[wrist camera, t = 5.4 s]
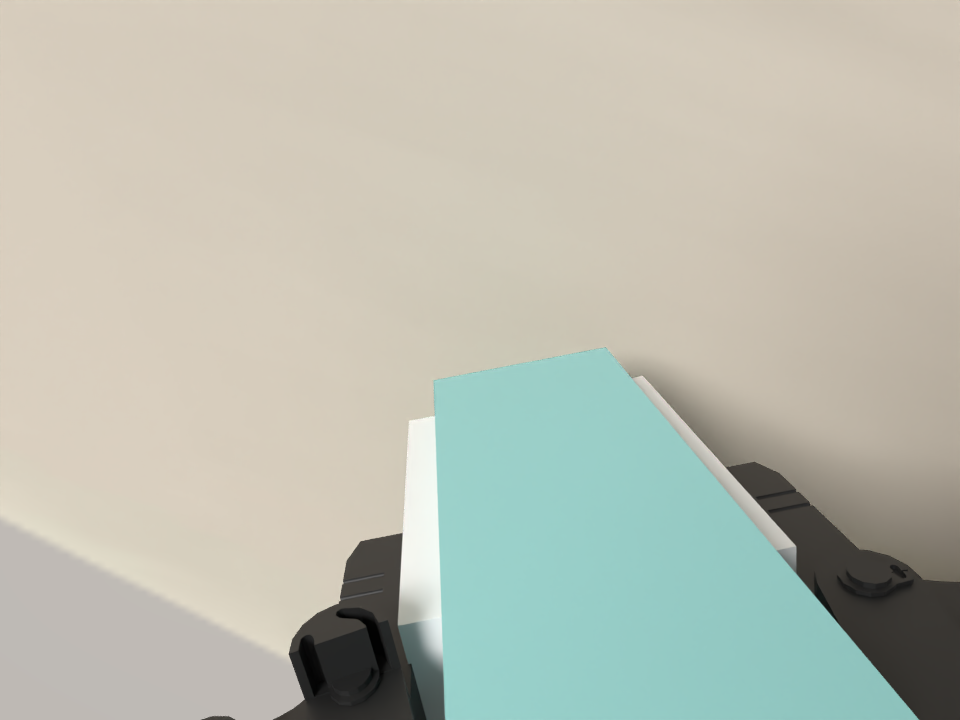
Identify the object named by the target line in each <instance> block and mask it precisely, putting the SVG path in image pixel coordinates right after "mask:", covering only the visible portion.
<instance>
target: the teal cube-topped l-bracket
mask: <svg viewBox="0 0 960 720" xmlns="http://www.w3.org/2000/svg"><path fill="white" fill-rule="evenodd" d="M434 406H435V436H436V466H437V495H438V525H439V555H440V584H441V614H442V643H443V673H444V703H445V720H919V719H918V718H917V717H916V716H915V714H914V713H913V712H912V711H911V710H910V708H909V707H908V706H907V705H906V704H905V703H904V701H903V700H902V699H901V698H900V697H899V695H898V694H897V693H896V692H895V691H894V689H893V688H892V687H891V686H890V685H889V684H888V682H887V681H886V680H885V679H884V678H883V676H882V675H881V674H880V673H879V672H878V670H877V669H876V668H875V667H874V666H873V665H872V663H871V662H870V661H869V660H868V659H867V657H866V656H865V655H864V654H863V653H862V651H861V650H860V649H859V648H858V647H857V646H856V644H855V643H854V642H853V641H852V640H851V638H850V637H849V636H848V635H847V634H846V632H845V631H844V630H843V629H842V628H841V626H840V625H839V624H838V623H837V622H836V621H835V619H834V618H833V617H832V616H831V615H830V613H829V612H828V611H827V610H826V609H825V607H824V606H823V605H822V604H821V603H820V602H819V600H818V599H817V598H816V597H815V596H814V594H813V593H812V592H811V591H810V590H809V588H808V587H807V586H806V585H805V584H804V583H803V581H802V580H801V579H800V578H799V577H798V575H797V574H796V573H795V572H794V571H793V569H792V568H791V567H790V566H789V565H788V564H787V562H786V561H785V560H784V559H783V558H782V556H781V555H780V554H779V553H778V552H777V550H776V549H775V548H774V547H773V546H772V545H771V543H770V542H769V541H768V540H767V539H766V537H765V536H764V535H763V534H762V533H761V531H760V530H759V529H758V528H757V527H756V526H755V524H754V523H753V522H752V521H751V520H750V518H749V517H748V516H747V515H746V514H745V512H744V511H743V510H742V509H741V508H740V506H739V505H738V504H737V503H736V502H735V501H734V499H733V498H732V497H731V496H730V495H729V493H728V492H727V491H726V490H725V489H724V487H723V486H722V485H721V484H720V483H719V482H718V480H717V479H716V478H715V477H714V476H713V474H712V473H711V472H710V471H709V470H708V468H707V467H706V466H705V465H704V464H703V463H702V461H701V460H700V459H699V458H698V457H697V455H696V454H695V453H694V452H693V451H692V449H691V448H690V447H689V446H688V445H687V444H686V442H685V441H684V440H683V439H682V438H681V436H680V435H679V434H678V433H677V432H676V430H675V429H674V428H673V427H672V426H671V425H670V423H669V422H668V421H667V420H666V419H665V417H664V416H663V415H662V414H661V413H660V411H659V410H658V409H657V408H656V407H655V406H654V404H653V403H652V402H651V401H650V400H649V398H648V397H647V396H646V395H645V394H644V392H643V391H642V390H641V389H640V388H639V386H638V385H637V384H636V383H635V382H634V381H633V379H632V378H631V377H630V376H629V375H628V373H627V372H626V371H625V370H624V369H623V367H622V366H621V365H620V364H619V363H618V362H617V360H616V359H615V358H614V357H613V356H612V354H611V353H610V352H609V351H608V350H607V348H606V347H605V348H600V349H595V350H589V351H584V352H579V353H574V354H568V355H563V356H558V357H553V358H548V359H542V360H537V361H532V362H527V363H522V364H516V365H511V366H506V367H501V368H495V369H490V370H485V371H480V372H475V373H469V374H464V375H459V376H454V377H449V378H443V379H438V380H434Z"/></svg>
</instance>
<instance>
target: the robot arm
mask: <svg viewBox="0 0 960 720" xmlns="http://www.w3.org/2000/svg"><path fill="white" fill-rule="evenodd" d="M632 379H633V381H634V382H635V383H636V384H637V385H638V386H639V388H640V389H641V390H642V391H643V392H644V394H645V395H646V396H647V397H648V398H649V400H650V401H651V402H652V403H653V404H654V406H655V407H656V408H657V409H658V410H659V411H660V413H661V414H662V415H663V416H664V417H665V419H666V420H667V421H668V422H669V423H670V425H671V426H672V427H673V428H674V429H675V430H676V432H677V433H678V434H679V435H680V436H681V438H682V439H683V440H684V441H685V442H686V444H687V445H688V446H689V447H690V448H691V449H692V451H693V452H694V453H695V454H696V455H697V457H698V458H699V459H700V460H701V461H702V463H703V464H704V465H705V466H706V467H707V468H708V470H709V471H710V472H711V473H712V474H713V476H714V477H715V478H716V479H717V480H718V482H719V483H720V484H721V485H722V486H723V487H724V489H725V490H726V491H727V492H728V493H729V495H730V496H731V497H732V498H733V499H734V501H735V502H736V503H737V504H738V505H739V506H740V508H741V509H742V510H743V511H744V512H745V514H746V515H747V516H748V517H749V518H750V520H751V521H752V522H753V523H754V524H755V526H756V527H757V528H758V529H759V530H760V531H761V533H762V534H763V535H764V536H765V537H766V539H767V540H768V541H769V542H770V543H771V545H772V546H773V547H774V548H775V549H776V550H777V552H778V553H779V554H780V555H781V556H782V558H783V559H784V560H785V561H786V562H787V564H788V565H789V566H790V567H791V568H792V569H793V571H794V572H795V573H796V574H797V575H798V577H799V578H800V579H801V580H802V581H803V583H804V584H805V585H806V586H807V587H808V588H809V590H810V591H811V592H812V593H813V594H814V596H815V597H816V598H817V599H818V600H819V602H820V603H821V604H822V605H823V606H824V607H825V609H826V610H827V611H828V612H829V613H830V615H831V616H832V617H833V618H834V619H835V621H836V622H837V623H838V624H839V625H840V626H841V628H842V629H843V630H844V631H845V632H846V634H847V635H848V636H849V637H850V638H851V640H852V641H853V642H854V643H855V644H856V646H857V647H858V648H859V649H860V650H861V651H862V653H863V654H864V655H865V656H866V657H867V659H868V660H869V661H870V662H871V663H872V665H873V666H874V667H875V668H876V669H877V670H878V672H879V673H880V674H881V675H882V676H883V678H884V679H885V680H886V681H887V682H888V684H889V685H890V686H891V687H892V688H893V689H894V691H895V692H896V693H897V694H898V695H899V697H900V698H901V699H902V700H903V701H904V703H905V704H906V705H907V706H908V707H909V708H910V710H911V711H912V712H913V713H914V714H915V716H916V717H917V718H918V719H919V720H960V582H939V581H929V580H922V578H921V577H920V576H919V575H918V574H917V573H916V572H914V571H913V570H912V569H911V568H910V567H909V566H908V565H906V564H904V563H902V562H900V561H898V560H896V559H894V558H892V557H890V556H888V555H884V554H880V553H876V552H872V551H868V550H859V549H858V548H857V547H856V546H855V545H854V544H853V543H851V542H850V541H849V540H848V539H847V538H846V537H845V536H844V535H843V534H842V533H841V532H840V531H839V530H838V529H837V528H836V527H835V526H834V525H833V524H832V523H831V522H830V521H829V520H827V519H826V518H825V517H824V516H823V515H822V514H821V513H820V512H819V511H818V510H817V509H816V508H815V507H814V506H813V505H812V506H810V504H809V501H808V500H807V499H806V498H805V497H804V496H802V495H801V494H800V493H799V492H796V489H795V488H794V487H793V486H792V485H791V484H790V483H789V482H788V481H787V480H786V479H785V478H784V477H783V476H782V475H781V474H780V473H777V472H775V471H773V470H771V469H769V468H767V467H765V466H762V465H760V464H758V463H756V462H752V463H747V464H742V465H737V466H732V467H727V468H725V467H724V465H723V464H722V463H721V462H720V461H719V460H718V459H717V458H716V457H715V455H714V454H713V453H712V452H711V451H710V450H709V449H708V448H707V447H706V445H705V444H704V443H703V442H702V441H701V440H700V439H699V438H698V437H697V435H696V434H695V433H694V432H693V431H692V430H691V429H690V428H689V427H688V425H687V424H686V423H685V422H684V421H683V420H682V419H681V418H680V417H679V415H678V414H677V413H676V412H675V411H674V410H673V409H672V408H671V407H670V405H669V404H668V403H667V402H666V401H665V400H664V399H663V398H662V396H661V395H660V394H659V393H658V392H657V391H656V390H655V389H654V388H653V386H652V385H651V384H650V383H649V382H648V381H647V380H646V379H645V378H644V376H638V377H633V378H632ZM343 582H344V584H342V590H341V595H340V599H341V601H339V604H337V605H334V606H332V607H330V608H327V609H325V610H323V611H321V612H319V613H317V614H316V615H315V616H313V617H312V618H311V619H310V620H308V621H307V622H306V623H305V624H303V625H302V627H301V628H300V630H299V631H298V632H297V634H296V635H295V636H294V638H293V639H292V643H291V647H290V651H289V656H290V659H291V662H292V664H293V667H294V670H295V673H296V676H297V678H298V681H299V684H300V687H301V690H302V692H303V695H304V698H305V700H304V701H302V702H301V703H300V704H299V705H297V706H296V707H295V708H294V709H292V710H290V711H288V712H287V713H285V714H283V715H281V716H280V717H278V718H276V719H273V720H445V703H444V673H443V643H442V614H441V584H440V555H439V525H438V495H437V466H436V436H435V416H431V417H426V418H421V419H416V420H411V421H409V431H408V449H407V467H406V485H405V503H404V521H403V533H401V534H396V535H391V536H386V537H380V538H375V539H370V540H365V541H361V542H360V543H359V545H358V546H357V547H356V549H355V550H354V551H353V553H352V554H351V556H350V557H349V558H348V560H347V563H346V568H345V573H344V579H343ZM202 720H235V719H233V718H231V717H229V716H228V717H227V716H223V717H222V716H212V717H208V718H206V719H202Z"/></svg>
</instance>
